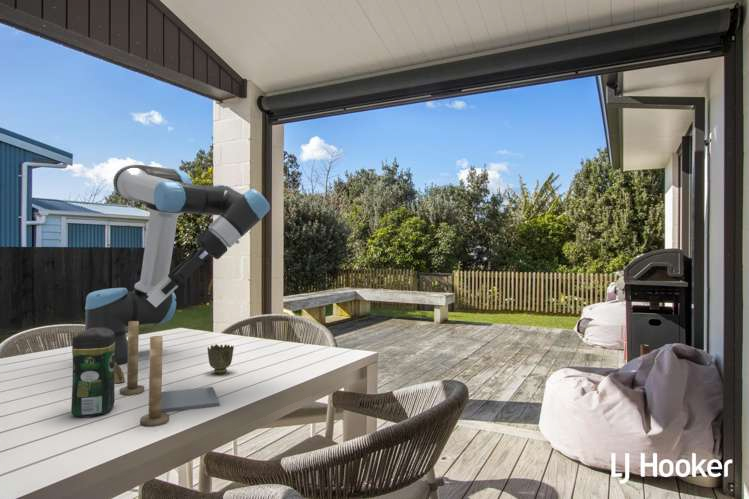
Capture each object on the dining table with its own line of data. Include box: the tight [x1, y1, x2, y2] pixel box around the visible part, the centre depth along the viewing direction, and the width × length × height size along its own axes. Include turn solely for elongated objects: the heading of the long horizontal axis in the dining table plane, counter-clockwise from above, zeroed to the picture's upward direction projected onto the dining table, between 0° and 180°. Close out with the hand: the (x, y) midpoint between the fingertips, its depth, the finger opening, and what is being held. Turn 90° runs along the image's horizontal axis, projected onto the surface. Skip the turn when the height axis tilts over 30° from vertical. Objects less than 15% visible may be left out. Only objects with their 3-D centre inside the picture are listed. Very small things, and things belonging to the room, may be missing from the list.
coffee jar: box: [70, 327, 116, 418], centre depth 107 cm, size 10×8×19 cm
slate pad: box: [161, 386, 221, 413], centre depth 116 cm, size 13×14×1 cm
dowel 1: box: [119, 321, 145, 396], centre depth 122 cm, size 6×6×18 cm
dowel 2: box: [139, 335, 170, 428], centre depth 101 cm, size 6×6×18 cm
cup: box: [207, 344, 235, 375], centre depth 141 cm, size 8×7×8 cm
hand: (150, 300), depth 112 cm, fingers open, 13 cm apart
